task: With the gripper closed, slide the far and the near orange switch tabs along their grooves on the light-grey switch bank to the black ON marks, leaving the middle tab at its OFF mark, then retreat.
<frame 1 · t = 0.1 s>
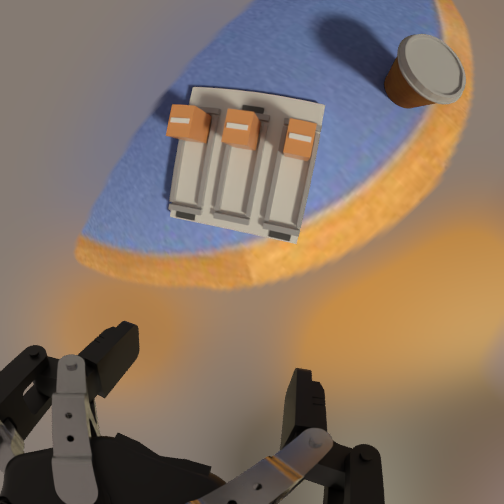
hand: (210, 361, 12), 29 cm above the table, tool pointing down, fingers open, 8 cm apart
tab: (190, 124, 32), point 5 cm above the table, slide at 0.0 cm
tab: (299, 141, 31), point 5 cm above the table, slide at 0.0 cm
tab mid: (242, 131, 31), point 5 cm above the table, slide at 0.0 cm
disposable coffee cup: (402, 89, 31), on the table
switch bank: (245, 160, 38), on the table
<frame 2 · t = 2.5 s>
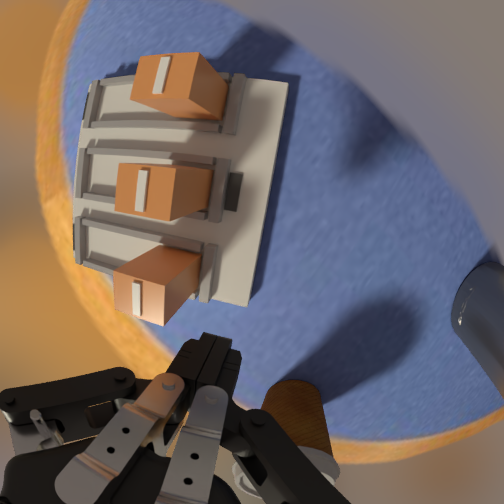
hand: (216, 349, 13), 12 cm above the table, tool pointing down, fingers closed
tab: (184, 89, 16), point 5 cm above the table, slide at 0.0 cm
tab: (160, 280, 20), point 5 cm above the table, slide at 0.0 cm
tab mid: (167, 187, 18), point 5 cm above the table, slide at 0.0 cm
disposable coffee cup: (293, 397, 28), on the table
switch bank: (160, 179, 23), on the table
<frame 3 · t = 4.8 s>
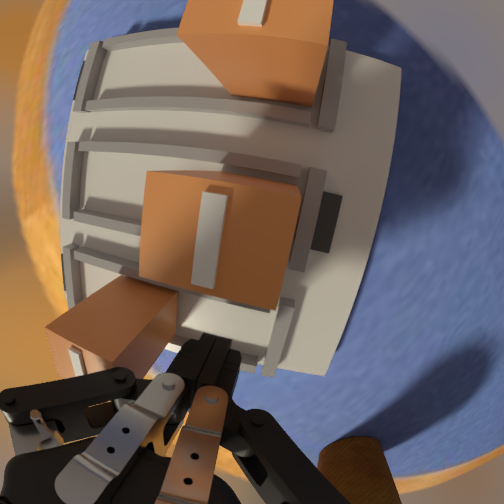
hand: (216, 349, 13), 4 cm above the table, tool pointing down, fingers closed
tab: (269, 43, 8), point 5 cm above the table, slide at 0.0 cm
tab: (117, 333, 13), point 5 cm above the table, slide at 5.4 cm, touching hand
tab mid: (236, 218, 10), point 5 cm above the table, slide at 0.0 cm
disposable coffee cup: (349, 450, 20), on the table
switch bank: (197, 192, 16), on the table
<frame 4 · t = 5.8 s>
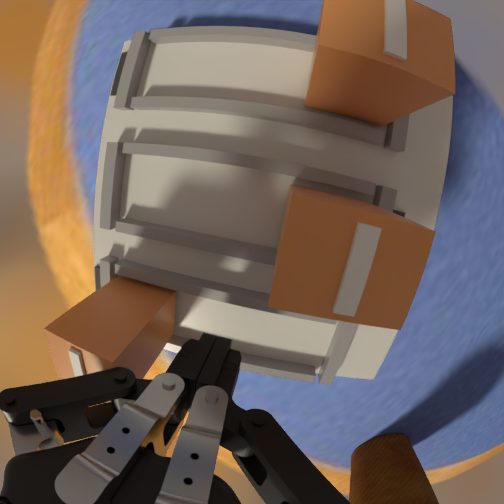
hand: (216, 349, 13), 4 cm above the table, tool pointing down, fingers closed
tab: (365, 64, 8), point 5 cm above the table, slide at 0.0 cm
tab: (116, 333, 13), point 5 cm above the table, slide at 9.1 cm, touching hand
tab mid: (335, 239, 10), point 5 cm above the table, slide at 0.0 cm
disposable coffee cup: (380, 448, 20), on the table
switch bank: (258, 203, 15), on the table
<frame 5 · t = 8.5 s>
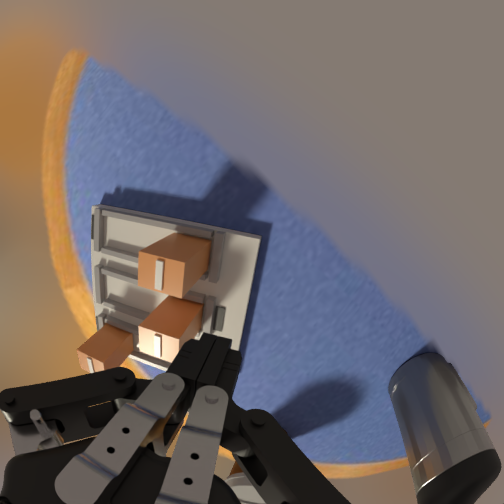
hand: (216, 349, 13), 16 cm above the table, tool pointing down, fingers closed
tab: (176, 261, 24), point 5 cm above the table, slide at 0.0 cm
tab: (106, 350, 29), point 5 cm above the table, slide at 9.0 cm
tab mid: (172, 327, 26), point 5 cm above the table, slide at 0.0 cm
disposable coffee cup: (267, 433, 36), on the table
switch bank: (163, 296, 31), on the table
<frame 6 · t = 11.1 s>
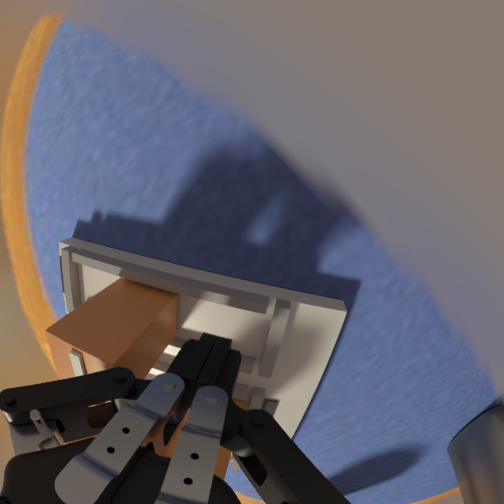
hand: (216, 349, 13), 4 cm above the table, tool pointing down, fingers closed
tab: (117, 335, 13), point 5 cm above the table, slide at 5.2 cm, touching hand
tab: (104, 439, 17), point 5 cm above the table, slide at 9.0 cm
tab mid: (202, 439, 14), point 5 cm above the table, slide at 0.0 cm
switch bank: (179, 375, 20), on the table
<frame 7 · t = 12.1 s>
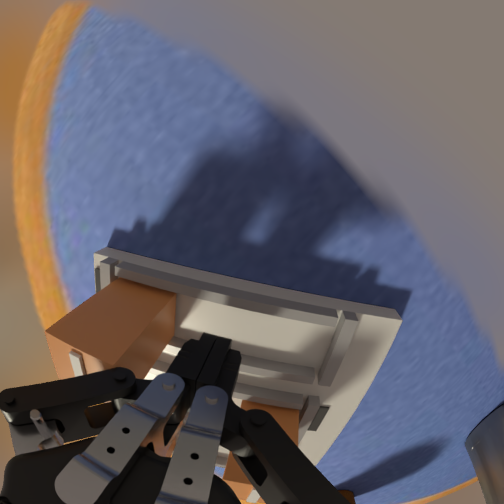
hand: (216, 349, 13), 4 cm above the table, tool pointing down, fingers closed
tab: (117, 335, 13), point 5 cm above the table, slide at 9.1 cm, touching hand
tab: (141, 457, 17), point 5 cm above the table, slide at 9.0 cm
tab mid: (261, 452, 14), point 5 cm above the table, slide at 0.0 cm
disposable coffee cup: (330, 496, 25), on the table
switch bank: (224, 388, 19), on the table
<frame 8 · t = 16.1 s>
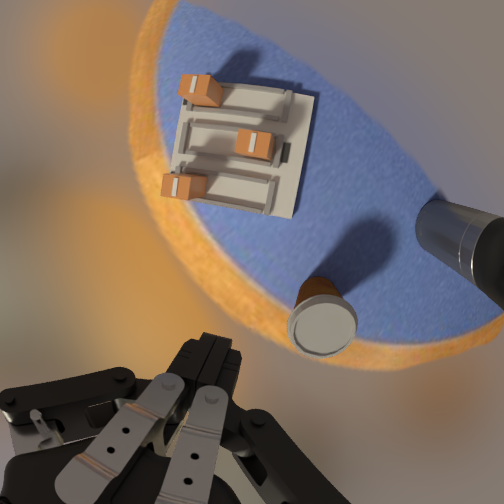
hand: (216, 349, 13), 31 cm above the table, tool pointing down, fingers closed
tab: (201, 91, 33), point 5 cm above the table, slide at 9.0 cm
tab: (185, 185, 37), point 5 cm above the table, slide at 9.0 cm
tab mid: (256, 145, 34), point 5 cm above the table, slide at 0.0 cm
disposable coffee cup: (317, 293, 45), on the table
switch bank: (238, 145, 40), on the table
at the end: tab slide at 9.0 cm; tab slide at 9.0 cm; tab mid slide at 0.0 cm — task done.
